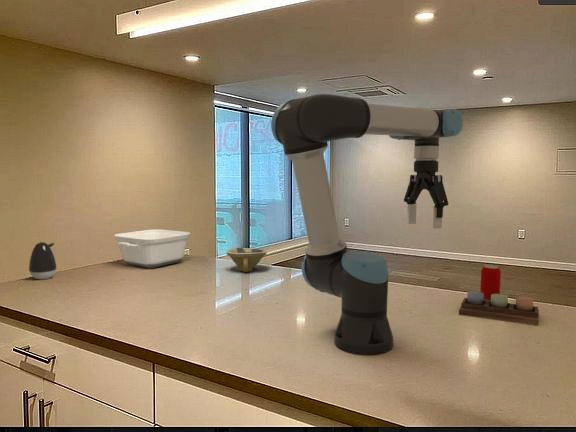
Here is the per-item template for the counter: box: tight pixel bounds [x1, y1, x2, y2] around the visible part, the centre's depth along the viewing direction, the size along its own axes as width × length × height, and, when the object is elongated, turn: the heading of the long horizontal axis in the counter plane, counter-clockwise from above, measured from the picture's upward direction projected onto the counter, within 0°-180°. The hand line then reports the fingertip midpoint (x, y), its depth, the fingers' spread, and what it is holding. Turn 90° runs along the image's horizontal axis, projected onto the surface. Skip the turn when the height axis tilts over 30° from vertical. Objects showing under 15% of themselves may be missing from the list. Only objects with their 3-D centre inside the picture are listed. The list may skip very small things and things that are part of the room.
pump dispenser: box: [28, 241, 57, 280], centre depth 194 cm, size 10×10×15 cm
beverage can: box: [479, 264, 502, 301], centre depth 161 cm, size 6×6×12 cm
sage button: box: [491, 293, 509, 307], centre depth 145 cm, size 5×5×3 cm
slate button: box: [466, 290, 484, 304], centre depth 148 cm, size 5×5×3 cm
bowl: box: [226, 247, 267, 273], centre depth 209 cm, size 18×18×10 cm
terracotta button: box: [515, 296, 534, 311], centre depth 142 cm, size 5×5×3 cm
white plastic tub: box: [113, 228, 191, 269], centre depth 223 cm, size 34×29×15 cm
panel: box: [458, 297, 540, 326], centre depth 145 cm, size 12×22×3 cm, turn 62°
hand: (423, 226), depth 150 cm, fingers open, 13 cm apart
